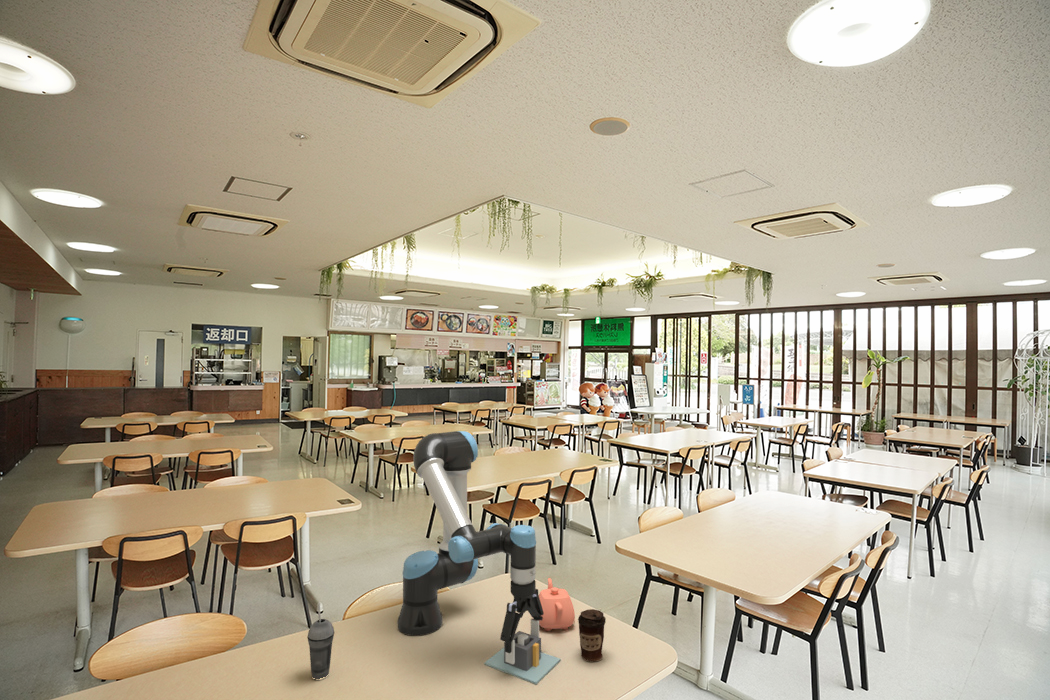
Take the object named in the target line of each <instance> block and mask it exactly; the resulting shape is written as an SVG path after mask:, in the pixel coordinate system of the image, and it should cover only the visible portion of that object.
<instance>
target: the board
mask: <svg viewBox="0 0 1050 700" xmlns="http://www.w3.org/2000/svg"><path fill="white" fill-rule="evenodd" d="M529 643H530V637H529V636H528V635H526V634H520V635H518V644H520V645H523V646H526V645H527V644H529ZM561 661H562V660H561V658H559V657H556V656H553V655H552V654H551V655H550V654H547V653H544V652H542V651H541V659H540V660H539V665H538V666H537V667H534V666H532V667H531V668H530V669H529V670H528V671H524V670H522V669H519V668H517V667H514V666H511V665H509V664H506V663H504V647H502V648H501V649H500V650H499V651H497V652H496V653H495V654H494V655H492V656H491V657H490V658H489V659H487V660H486V661H484V665H485V666H487V667H490V668H492V669H495V670H497V671H501V672H503V673H506V674H508V675H511V676H513V677H515V678H517V679H520V680H523V681H526V682H528V683H531V684H534V685H538V684H539V683H540V682H541V681H542V680H543V679H544V678H545V676H547V675H548V674H549V673H550V672H551V671H552V670H553V669H554V668H555V667H556V666H557V665H558V664H559V663H560V662H561Z"/></svg>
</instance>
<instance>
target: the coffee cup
mask: <svg viewBox="0 0 1050 700" xmlns="http://www.w3.org/2000/svg"><path fill="white" fill-rule="evenodd" d="M577 620H578V621H577V622H578V631H579V632H578V633H579V645H580V646H579V647H580V654H581V658H582V659H583V660H585V661H587V662H591V663H592V662H593V663H594V662H599V661H601V660H603V652H602V651H603V645H604V641H605V640H604V638H605V624H606V617H605V616H604V612H603V611H601V610H599V609H594V608H592V609H591V608H590V609H585V610H583V611H581V612H580V614H579V615H578V619H577Z"/></svg>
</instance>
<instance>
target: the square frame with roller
mask: <svg viewBox="0 0 1050 700" xmlns="http://www.w3.org/2000/svg"><path fill="white" fill-rule="evenodd" d="M520 634H526V635H528V636H529V637H530V643H529V644H527V645H526V646H523V645H520V644H518V635H520ZM513 640H515V663H514V664H511V663H508V662H506V652H505V641H503V648H504V663H506V664H509V665H511V666H514V667H517V668H519V669H522V670H524V671H528V670H529V669H530V668H531V667H532V666H534V667H537V666H538V665H539V660H540V659H541V652H542V638H541V637H540V636H539V637H536V636H533V635H531V633H527V632H525V631H524V632H523V631H522V630H521V631H520V630H518V631H516V632H515V635H514V638H513Z"/></svg>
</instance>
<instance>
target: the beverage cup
mask: <svg viewBox="0 0 1050 700" xmlns="http://www.w3.org/2000/svg"><path fill="white" fill-rule="evenodd" d="M320 604H321V603H317V610H318V612H317V613H318V619H317V620H316V621H314V622H313V623H312V624H311V625H310V627H309V629H308V632H307V637H306V639H307V642H308V648H309V657H310V658H309V660H310V661H309V662H310V672H311V678H312V677H313V678H315V679H320V678H323V677H326V676H327V675H328V674H329V675H330V668H331V659H332V657H331V656H332V648H333V641H334V636H335V630H334V626H333V623H332V622H331V621H330V620H328V619H327V618H326V619H325V618H322V617H321V605H320ZM329 675H328V676H329Z"/></svg>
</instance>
